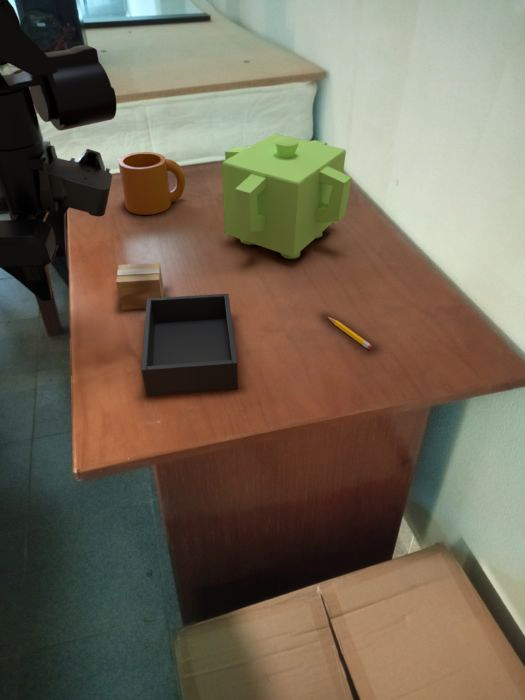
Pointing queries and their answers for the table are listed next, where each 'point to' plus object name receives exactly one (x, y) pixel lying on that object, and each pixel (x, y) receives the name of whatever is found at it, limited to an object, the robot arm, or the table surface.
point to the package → (139, 284)
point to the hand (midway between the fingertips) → (54, 276)
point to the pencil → (351, 334)
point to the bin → (189, 345)
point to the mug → (149, 182)
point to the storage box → (283, 192)
